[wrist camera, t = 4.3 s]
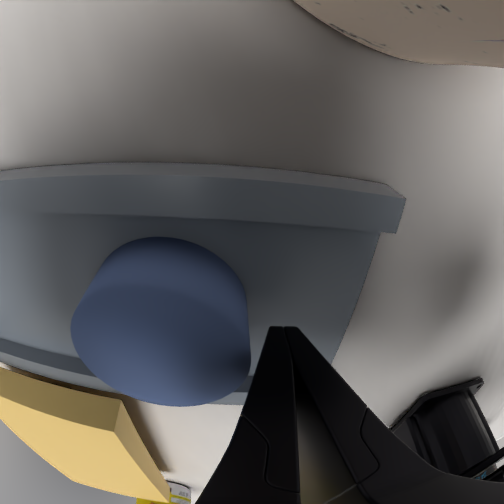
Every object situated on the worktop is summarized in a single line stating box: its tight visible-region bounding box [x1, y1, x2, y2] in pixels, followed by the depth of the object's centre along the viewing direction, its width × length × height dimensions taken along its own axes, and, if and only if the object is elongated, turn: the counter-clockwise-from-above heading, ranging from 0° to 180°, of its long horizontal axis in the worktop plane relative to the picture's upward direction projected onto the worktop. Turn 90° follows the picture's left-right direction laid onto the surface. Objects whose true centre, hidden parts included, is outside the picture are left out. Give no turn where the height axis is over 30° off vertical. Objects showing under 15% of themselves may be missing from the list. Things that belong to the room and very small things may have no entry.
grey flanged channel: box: [0, 162, 406, 405], centre depth 9 cm, size 18×9×1 cm, turn 84°
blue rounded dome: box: [70, 237, 251, 407], centre depth 8 cm, size 5×5×2 cm
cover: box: [0, 367, 170, 503], centre depth 13 cm, size 17×9×2 cm, turn 174°
